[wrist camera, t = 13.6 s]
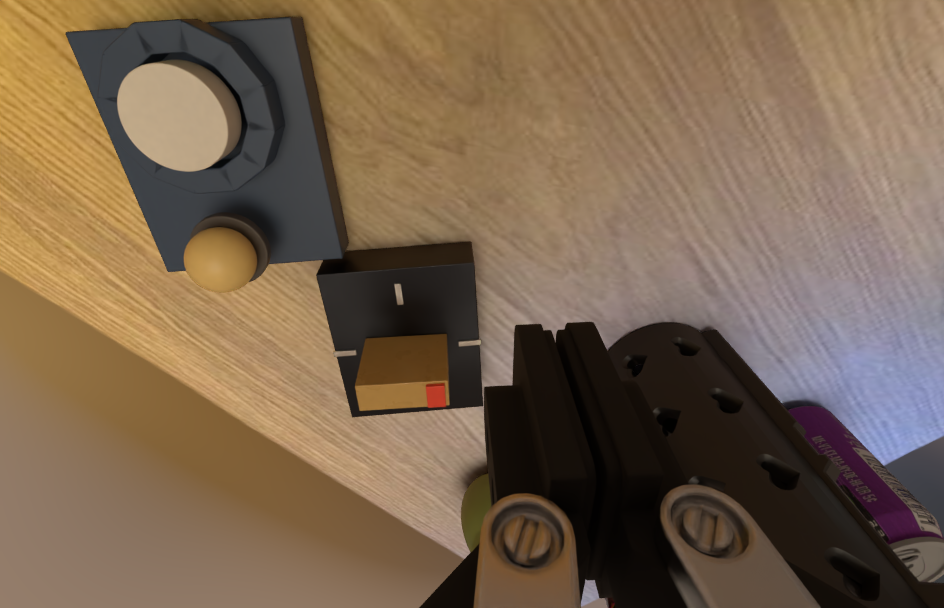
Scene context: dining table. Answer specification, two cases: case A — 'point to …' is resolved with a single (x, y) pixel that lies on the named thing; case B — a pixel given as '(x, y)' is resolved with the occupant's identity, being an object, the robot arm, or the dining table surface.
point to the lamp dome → (226, 252)
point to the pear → (475, 510)
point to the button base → (260, 144)
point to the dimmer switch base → (405, 311)
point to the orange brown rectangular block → (403, 373)
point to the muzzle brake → (763, 462)
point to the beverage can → (877, 494)
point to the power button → (179, 114)
